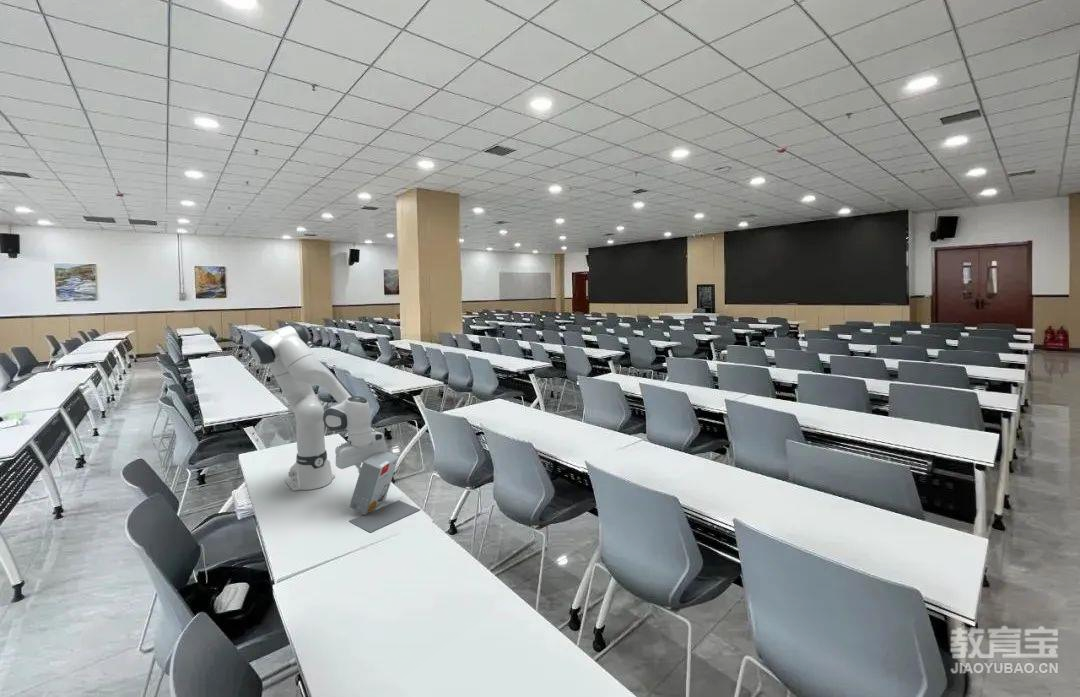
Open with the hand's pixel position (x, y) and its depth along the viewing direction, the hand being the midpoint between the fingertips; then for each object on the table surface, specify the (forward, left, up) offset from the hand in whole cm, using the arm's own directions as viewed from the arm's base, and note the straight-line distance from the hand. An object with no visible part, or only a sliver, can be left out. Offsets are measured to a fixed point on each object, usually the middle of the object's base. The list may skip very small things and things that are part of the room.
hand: (363, 472), depth 197 cm
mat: (+13, 0, -14) cm, 19 cm away
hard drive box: (+1, 0, -13) cm, 13 cm away
